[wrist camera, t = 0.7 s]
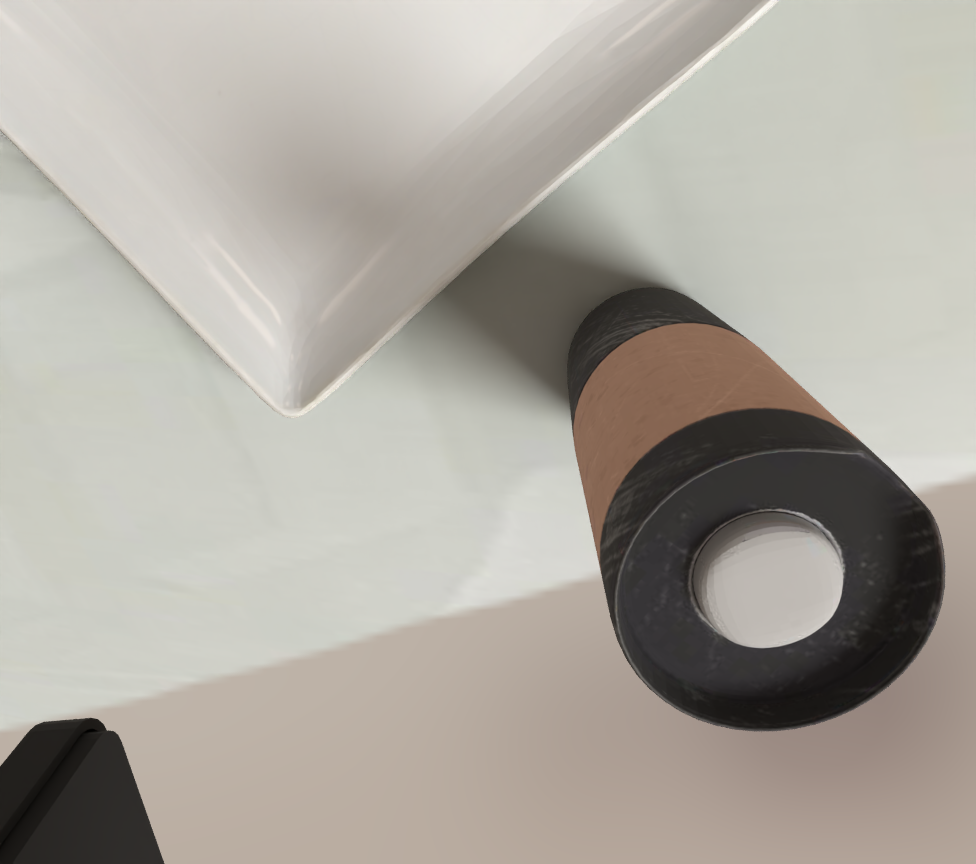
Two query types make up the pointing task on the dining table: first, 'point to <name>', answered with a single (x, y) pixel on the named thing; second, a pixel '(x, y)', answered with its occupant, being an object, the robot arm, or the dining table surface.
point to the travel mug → (741, 523)
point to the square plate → (328, 146)
